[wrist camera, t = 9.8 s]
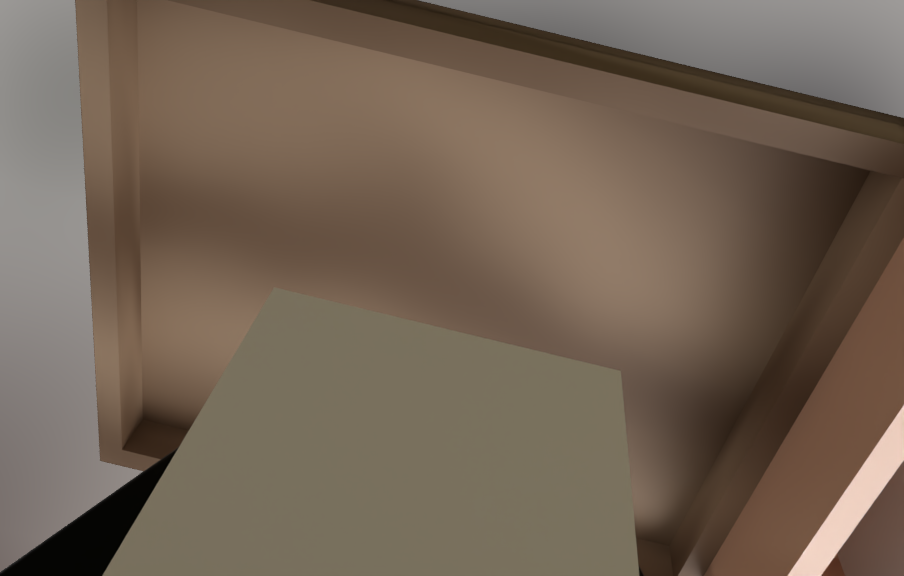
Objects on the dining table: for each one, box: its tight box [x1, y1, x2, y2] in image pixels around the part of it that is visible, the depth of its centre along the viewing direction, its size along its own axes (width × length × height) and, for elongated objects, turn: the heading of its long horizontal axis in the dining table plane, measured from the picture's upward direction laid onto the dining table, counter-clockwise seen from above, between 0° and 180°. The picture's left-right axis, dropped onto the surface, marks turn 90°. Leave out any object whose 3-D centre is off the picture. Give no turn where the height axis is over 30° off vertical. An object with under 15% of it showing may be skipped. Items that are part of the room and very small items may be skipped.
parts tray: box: [75, 0, 904, 576], centre depth 18 cm, size 13×16×2 cm
